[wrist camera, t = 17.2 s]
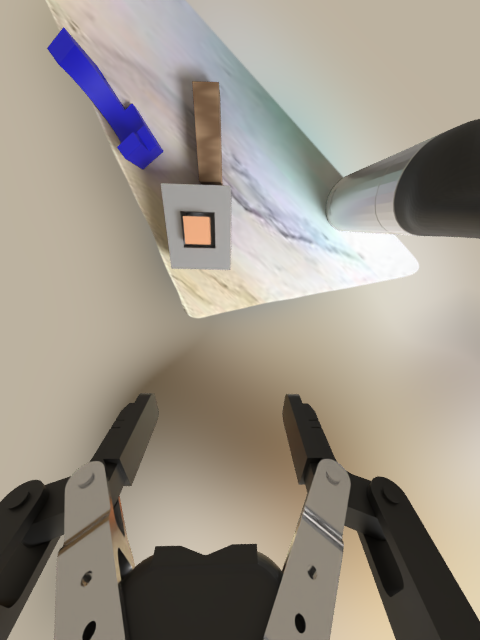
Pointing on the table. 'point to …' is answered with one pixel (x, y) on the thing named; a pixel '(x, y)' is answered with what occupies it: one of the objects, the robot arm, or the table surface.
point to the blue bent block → (106, 101)
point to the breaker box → (199, 204)
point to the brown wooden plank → (208, 131)
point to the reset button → (197, 230)
